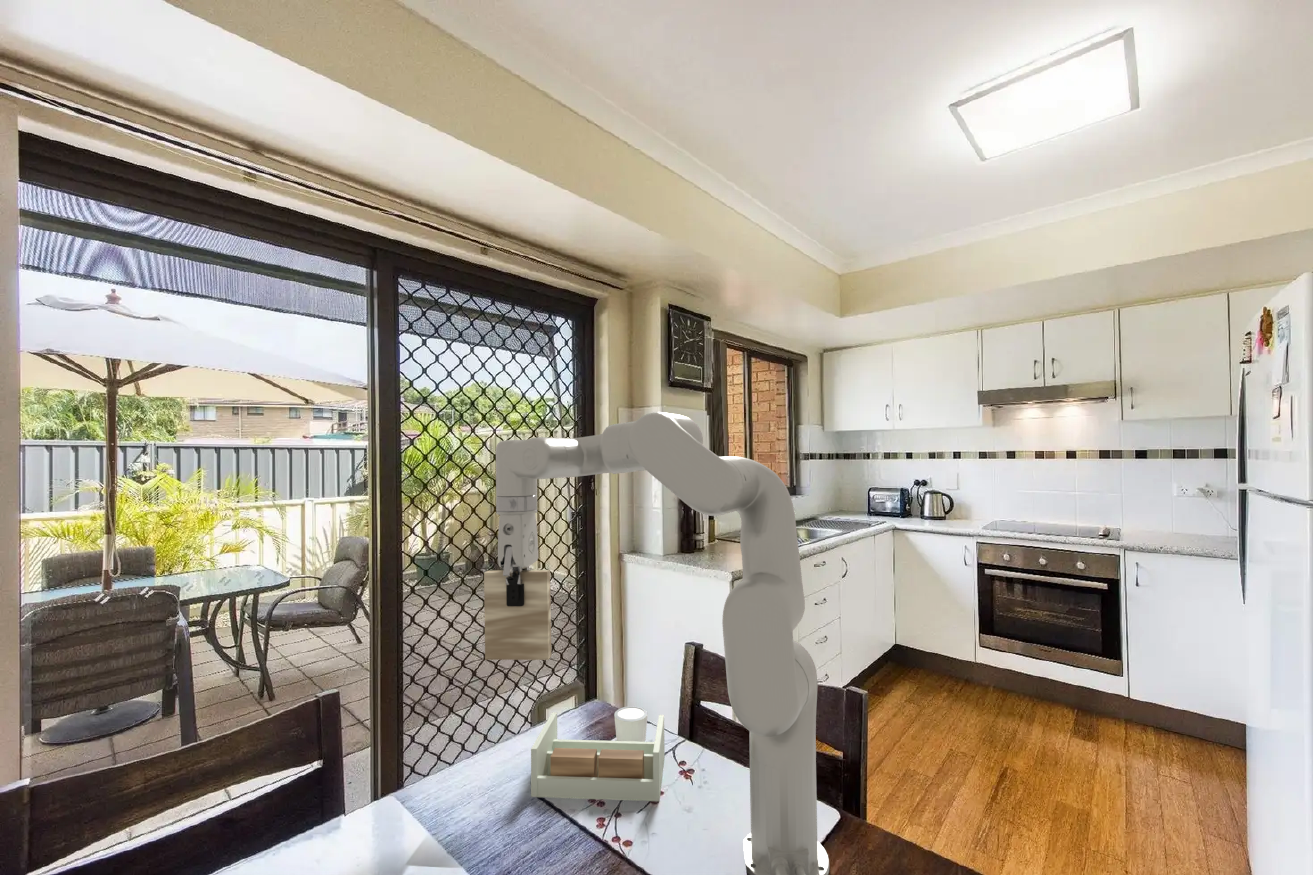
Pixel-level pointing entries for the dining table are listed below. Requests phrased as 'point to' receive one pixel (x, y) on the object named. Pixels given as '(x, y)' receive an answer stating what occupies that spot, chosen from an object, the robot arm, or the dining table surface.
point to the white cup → (631, 724)
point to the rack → (597, 786)
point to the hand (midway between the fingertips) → (517, 603)
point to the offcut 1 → (574, 762)
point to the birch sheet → (518, 618)
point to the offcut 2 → (621, 764)
